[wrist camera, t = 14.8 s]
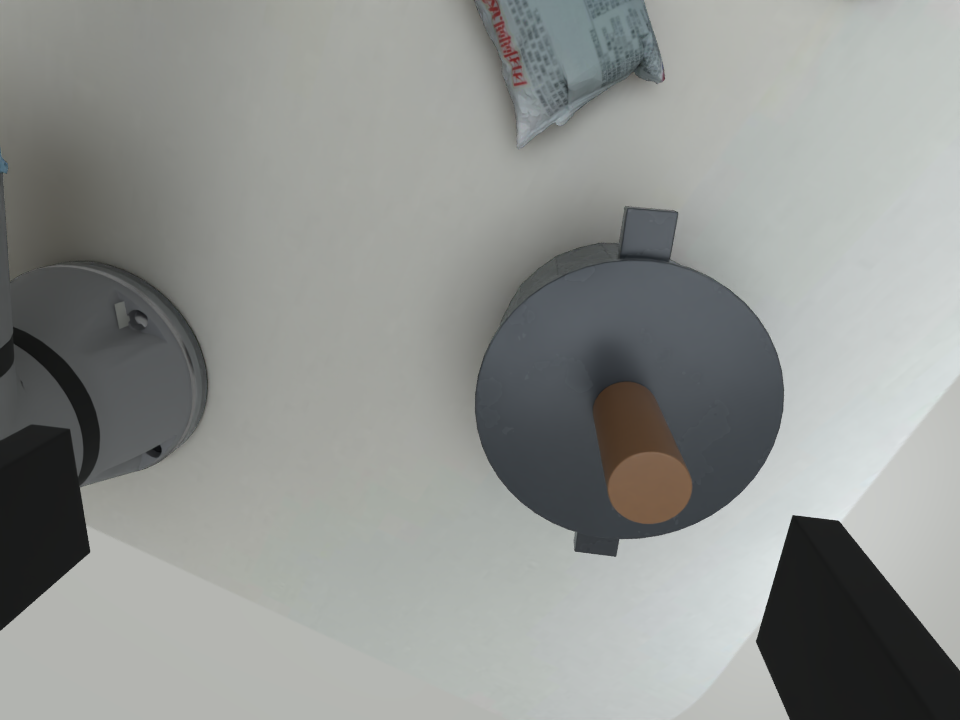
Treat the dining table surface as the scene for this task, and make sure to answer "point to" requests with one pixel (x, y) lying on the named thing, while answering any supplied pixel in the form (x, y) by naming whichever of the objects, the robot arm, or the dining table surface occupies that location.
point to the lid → (629, 398)
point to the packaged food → (567, 53)
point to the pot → (638, 239)
